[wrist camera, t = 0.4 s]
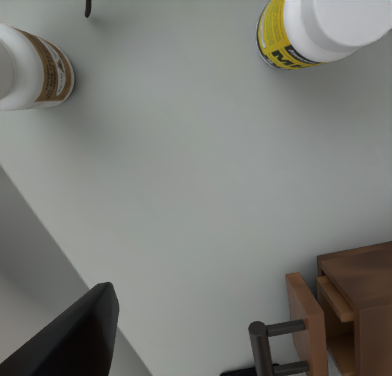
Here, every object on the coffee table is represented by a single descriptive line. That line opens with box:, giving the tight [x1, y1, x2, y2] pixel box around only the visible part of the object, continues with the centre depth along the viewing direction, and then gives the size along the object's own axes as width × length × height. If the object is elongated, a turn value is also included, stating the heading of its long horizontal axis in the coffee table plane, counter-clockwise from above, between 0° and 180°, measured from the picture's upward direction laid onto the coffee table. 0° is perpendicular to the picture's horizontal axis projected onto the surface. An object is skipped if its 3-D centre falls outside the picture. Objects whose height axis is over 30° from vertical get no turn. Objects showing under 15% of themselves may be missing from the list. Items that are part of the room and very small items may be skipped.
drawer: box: [248, 272, 355, 376], centre depth 23 cm, size 14×8×5 cm, turn 102°
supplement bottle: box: [255, 0, 392, 70], centre depth 15 cm, size 5×5×8 cm
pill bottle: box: [0, 23, 74, 111], centre depth 16 cm, size 4×4×8 cm
